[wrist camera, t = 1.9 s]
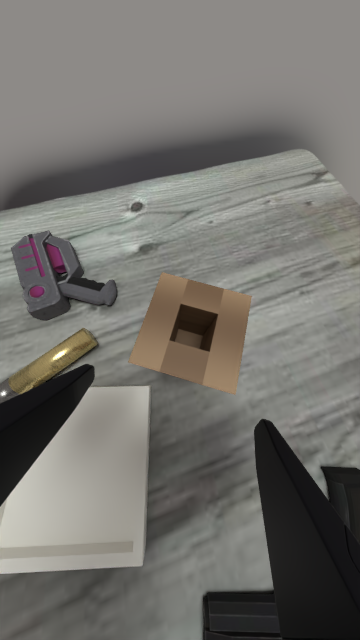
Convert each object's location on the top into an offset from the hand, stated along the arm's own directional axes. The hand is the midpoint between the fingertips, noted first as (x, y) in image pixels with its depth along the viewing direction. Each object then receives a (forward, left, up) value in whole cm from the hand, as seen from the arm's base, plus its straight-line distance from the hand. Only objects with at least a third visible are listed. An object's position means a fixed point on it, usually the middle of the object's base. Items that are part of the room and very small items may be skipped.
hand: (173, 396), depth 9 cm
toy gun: (-2, +20, -11) cm, 23 cm away
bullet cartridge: (-9, +10, -10) cm, 17 cm away
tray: (-11, 0, -10) cm, 15 cm away
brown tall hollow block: (+3, +2, -10) cm, 11 cm away
